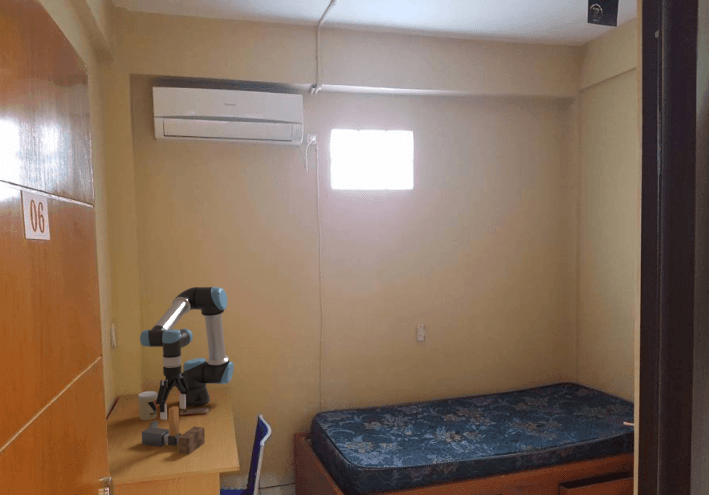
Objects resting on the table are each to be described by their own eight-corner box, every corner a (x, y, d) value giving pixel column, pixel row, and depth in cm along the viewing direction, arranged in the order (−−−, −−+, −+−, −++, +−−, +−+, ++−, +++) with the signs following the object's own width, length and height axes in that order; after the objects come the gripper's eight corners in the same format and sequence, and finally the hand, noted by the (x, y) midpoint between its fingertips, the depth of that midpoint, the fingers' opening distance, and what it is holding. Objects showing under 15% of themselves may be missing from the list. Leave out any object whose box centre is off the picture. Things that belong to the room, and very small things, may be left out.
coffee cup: (151, 421, 264) (150, 397, 263) (134, 420, 266) (133, 396, 265) (162, 414, 273) (161, 391, 272) (145, 413, 275) (144, 390, 274)
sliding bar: (149, 438, 241) (148, 403, 240) (187, 442, 235) (186, 407, 234) (142, 441, 237) (141, 406, 236) (181, 446, 231) (180, 410, 230)
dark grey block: (150, 439, 242) (149, 427, 241) (169, 442, 239) (168, 429, 238) (142, 444, 236) (141, 431, 236) (161, 447, 233) (160, 434, 233)
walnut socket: (194, 441, 239) (194, 426, 238) (204, 443, 237) (204, 427, 237) (178, 453, 227) (178, 437, 227) (188, 454, 226) (188, 438, 225)
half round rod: (144, 440, 242) (144, 436, 242) (150, 424, 261) (150, 420, 261) (154, 439, 243) (154, 435, 243) (159, 423, 262) (159, 420, 262)
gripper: (181, 358, 246) (183, 403, 247) (146, 372, 222) (147, 423, 223) (196, 359, 244) (197, 405, 244) (161, 373, 220) (162, 424, 221)
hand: (173, 413), depth 234 cm, fingers open, 13 cm apart
